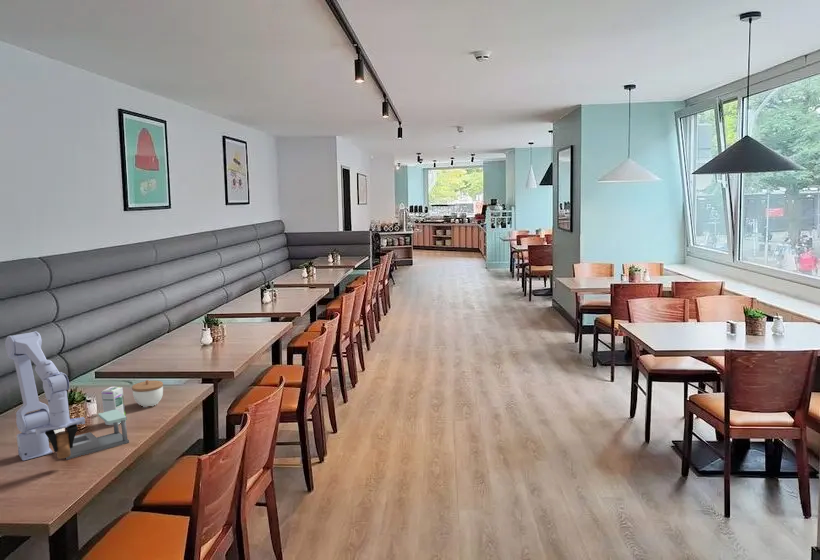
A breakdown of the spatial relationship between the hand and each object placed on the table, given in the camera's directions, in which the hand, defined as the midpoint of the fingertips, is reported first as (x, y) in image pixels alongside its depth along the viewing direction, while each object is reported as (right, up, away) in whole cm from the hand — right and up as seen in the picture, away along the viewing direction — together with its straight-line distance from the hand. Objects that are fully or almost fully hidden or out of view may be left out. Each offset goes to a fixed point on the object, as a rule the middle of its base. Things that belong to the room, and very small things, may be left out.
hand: (63, 449), depth 210 cm
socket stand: (+1, -4, +19) cm, 19 cm away
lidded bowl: (+2, +2, +64) cm, 64 cm away
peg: (0, -2, 0) cm, 2 cm away
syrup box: (-2, -1, +42) cm, 43 cm away
